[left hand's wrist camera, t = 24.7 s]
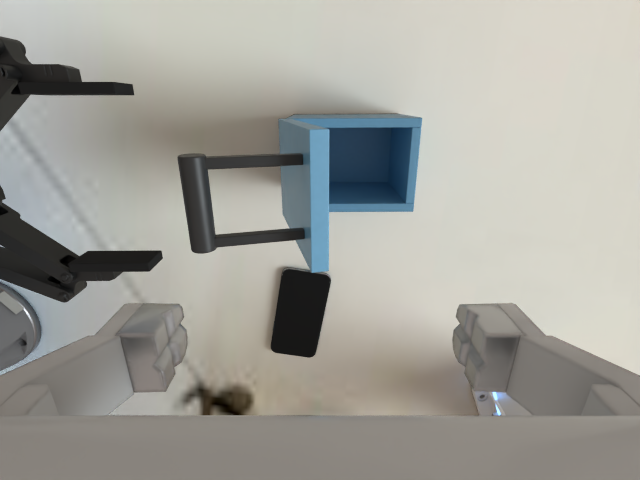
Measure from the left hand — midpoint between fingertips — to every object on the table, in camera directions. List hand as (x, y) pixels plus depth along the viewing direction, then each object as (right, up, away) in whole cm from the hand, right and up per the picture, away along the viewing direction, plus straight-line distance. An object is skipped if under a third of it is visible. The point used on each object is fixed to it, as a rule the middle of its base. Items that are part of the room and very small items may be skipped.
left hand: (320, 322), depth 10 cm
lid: (-1, +7, +18) cm, 19 cm away
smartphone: (-3, -9, +44) cm, 45 cm away
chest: (+3, +14, +35) cm, 38 cm away
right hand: (-14, +7, +17) cm, 24 cm away
